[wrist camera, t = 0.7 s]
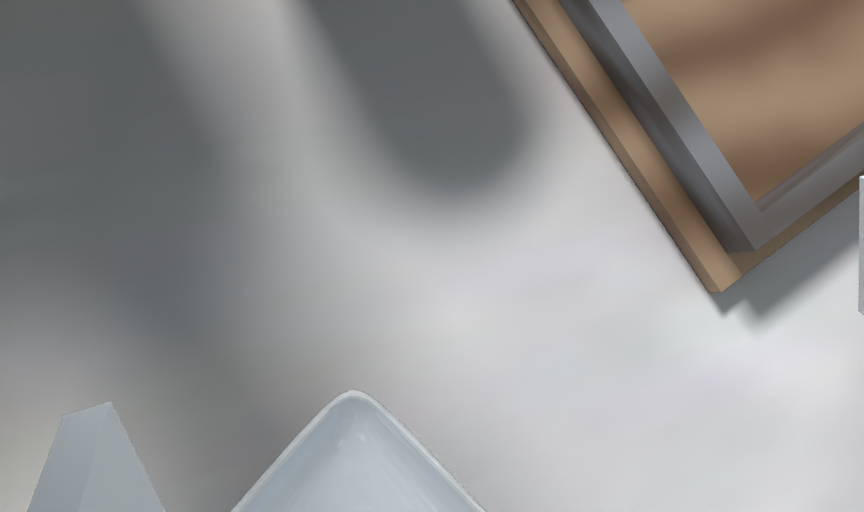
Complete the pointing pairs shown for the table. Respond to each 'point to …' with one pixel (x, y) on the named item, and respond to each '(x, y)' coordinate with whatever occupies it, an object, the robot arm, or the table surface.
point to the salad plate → (356, 467)
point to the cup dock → (720, 112)
